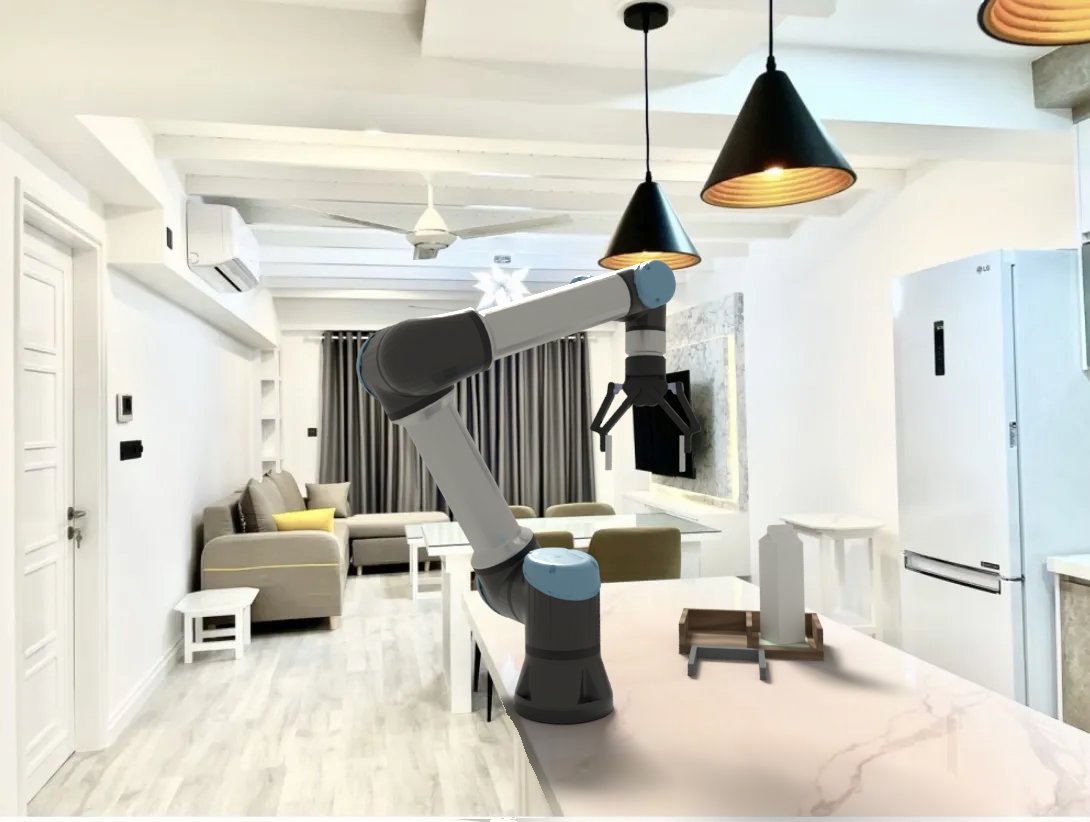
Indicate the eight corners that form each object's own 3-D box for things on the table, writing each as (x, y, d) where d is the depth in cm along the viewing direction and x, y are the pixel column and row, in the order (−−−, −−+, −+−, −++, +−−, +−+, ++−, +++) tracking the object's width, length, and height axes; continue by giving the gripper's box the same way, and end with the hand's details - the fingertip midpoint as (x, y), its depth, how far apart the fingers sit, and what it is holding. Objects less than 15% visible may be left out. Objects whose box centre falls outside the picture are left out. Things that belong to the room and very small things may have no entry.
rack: (824, 660, 145) (823, 630, 145) (679, 653, 151) (678, 624, 151) (817, 640, 159) (816, 612, 159) (684, 634, 165) (683, 608, 165)
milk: (760, 638, 155) (756, 523, 156) (786, 634, 157) (782, 522, 158) (779, 645, 149) (776, 526, 150) (806, 641, 151) (802, 524, 152)
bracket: (766, 679, 134) (765, 667, 134) (687, 675, 137) (687, 663, 137) (764, 659, 146) (764, 648, 146) (691, 656, 149) (691, 645, 149)
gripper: (715, 356, 149) (715, 471, 148) (583, 359, 155) (582, 469, 154) (713, 352, 141) (713, 472, 141) (575, 355, 148) (574, 470, 147)
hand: (645, 471), depth 147 cm, fingers open, 13 cm apart
